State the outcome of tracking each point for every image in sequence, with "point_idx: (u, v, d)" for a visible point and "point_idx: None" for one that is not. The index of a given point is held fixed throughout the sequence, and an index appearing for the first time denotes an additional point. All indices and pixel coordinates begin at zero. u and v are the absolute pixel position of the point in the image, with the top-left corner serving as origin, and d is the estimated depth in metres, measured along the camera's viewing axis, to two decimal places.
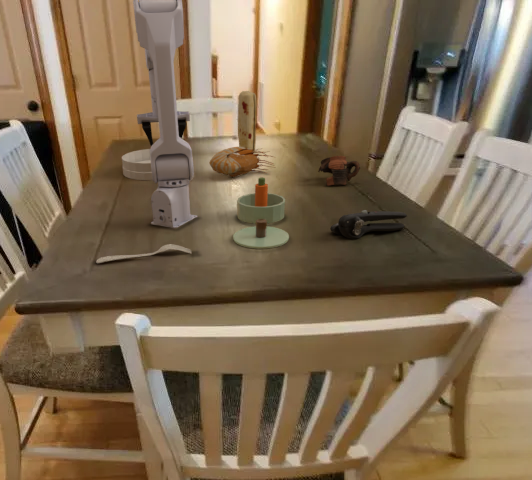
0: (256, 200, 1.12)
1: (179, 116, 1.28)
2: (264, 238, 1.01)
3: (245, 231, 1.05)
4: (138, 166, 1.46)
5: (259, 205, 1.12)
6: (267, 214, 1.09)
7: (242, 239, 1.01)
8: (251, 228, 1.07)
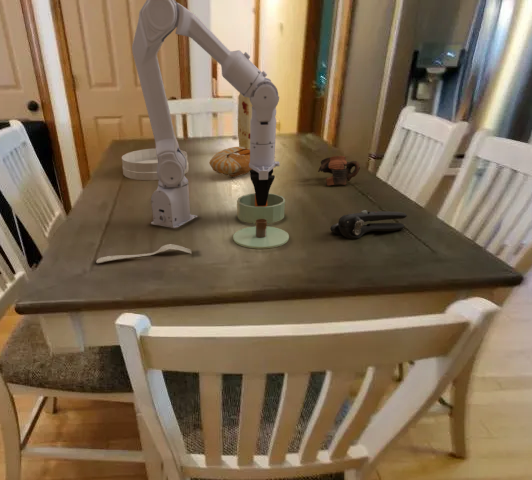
0: None
1: (255, 169, 1.05)
2: (264, 238, 1.01)
3: (245, 231, 1.05)
4: (138, 166, 1.46)
5: None
6: (267, 214, 1.09)
7: (242, 239, 1.01)
8: (251, 228, 1.07)
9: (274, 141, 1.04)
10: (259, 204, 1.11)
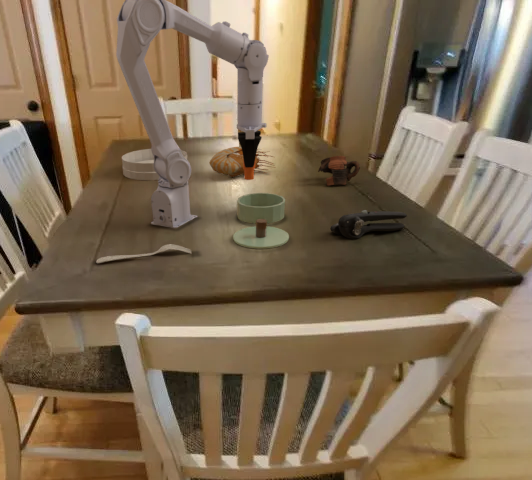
0: None
1: (242, 129, 1.07)
2: (264, 238, 1.01)
3: (245, 231, 1.05)
4: (138, 166, 1.46)
5: (247, 167, 1.15)
6: (267, 214, 1.09)
7: (242, 239, 1.01)
8: (251, 228, 1.07)
9: None
10: (247, 165, 1.14)
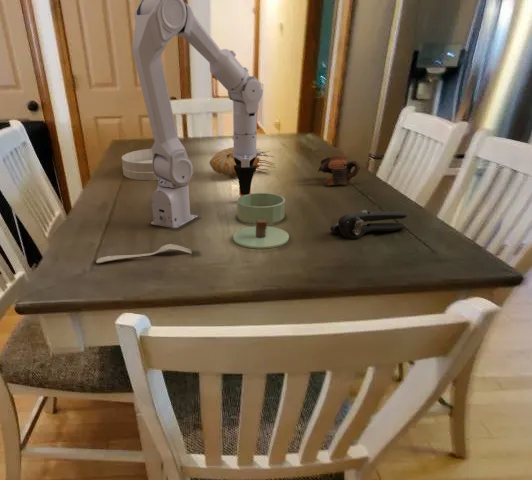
0: None
1: (238, 158, 1.14)
2: (264, 238, 1.01)
3: (245, 231, 1.05)
4: (138, 166, 1.46)
5: None
6: (267, 214, 1.09)
7: (242, 239, 1.01)
8: (251, 228, 1.07)
9: None
10: (242, 192, 1.19)
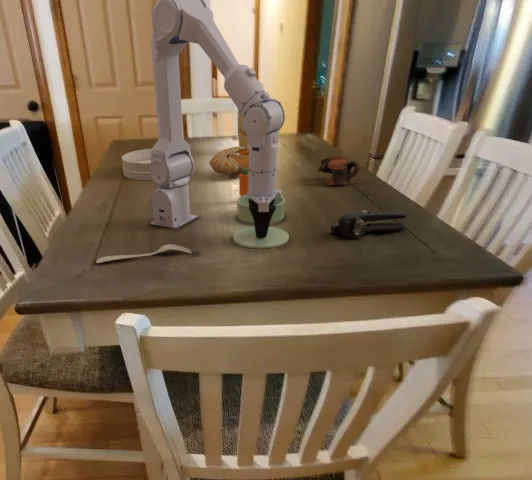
0: (240, 189, 1.22)
1: (254, 199, 0.94)
2: (264, 238, 1.01)
3: (245, 231, 1.05)
4: (138, 166, 1.46)
5: (243, 193, 1.22)
6: None
7: (242, 239, 1.01)
8: (251, 228, 1.07)
9: (269, 170, 0.92)
10: (258, 235, 1.01)
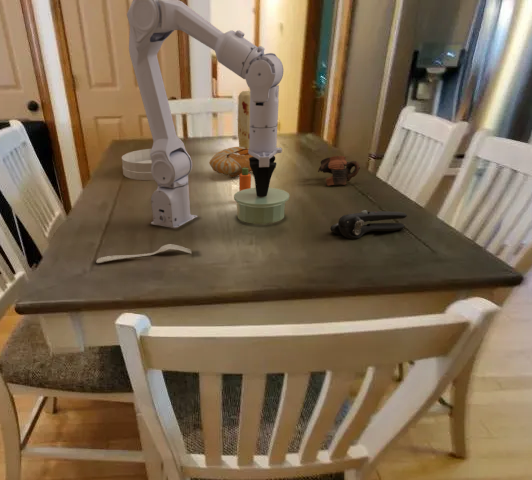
0: (240, 189, 1.22)
1: (255, 155, 0.95)
2: (265, 197, 1.02)
3: (246, 191, 1.06)
4: (138, 166, 1.46)
5: None
6: (267, 214, 1.09)
7: (243, 198, 1.02)
8: (252, 189, 1.07)
9: (273, 125, 0.93)
10: (259, 194, 1.02)
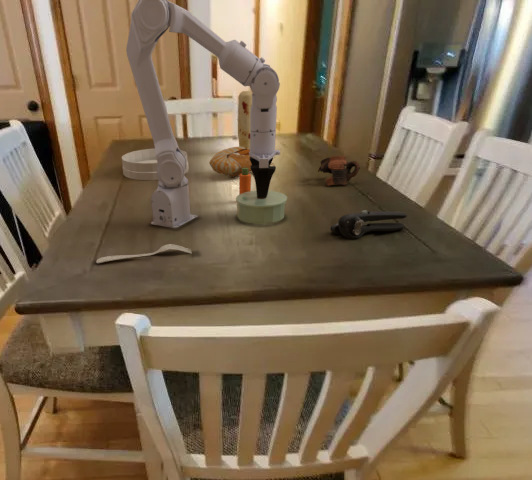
0: (240, 189, 1.22)
1: (255, 157, 1.03)
2: (264, 199, 1.11)
3: (247, 194, 1.15)
4: (138, 166, 1.46)
5: None
6: (267, 214, 1.09)
7: (244, 200, 1.11)
8: (252, 192, 1.16)
9: (274, 129, 1.02)
10: (259, 196, 1.08)
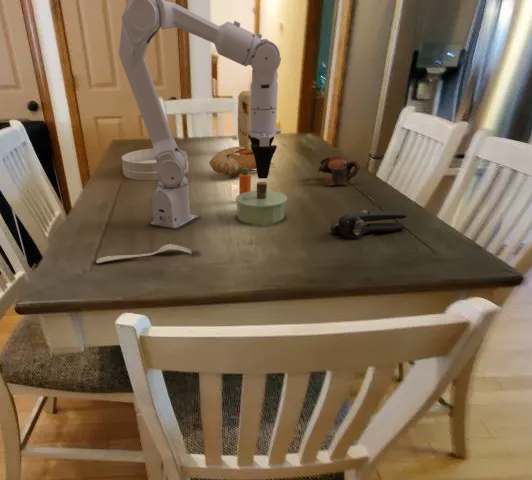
0: (240, 189, 1.22)
1: (256, 136, 1.00)
2: (264, 199, 1.11)
3: (247, 194, 1.15)
4: (138, 166, 1.46)
5: None
6: (267, 214, 1.09)
7: (244, 200, 1.11)
8: (252, 192, 1.16)
9: (275, 106, 1.00)
10: (260, 176, 1.06)
